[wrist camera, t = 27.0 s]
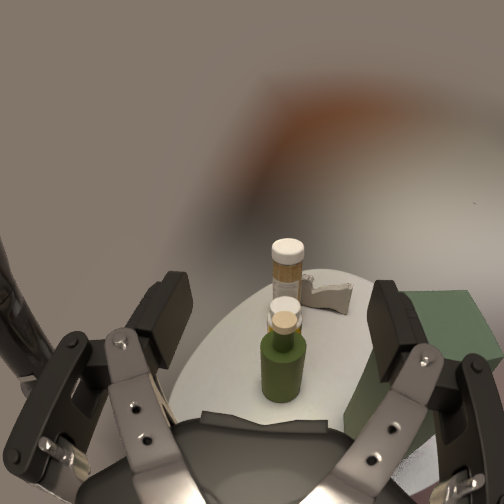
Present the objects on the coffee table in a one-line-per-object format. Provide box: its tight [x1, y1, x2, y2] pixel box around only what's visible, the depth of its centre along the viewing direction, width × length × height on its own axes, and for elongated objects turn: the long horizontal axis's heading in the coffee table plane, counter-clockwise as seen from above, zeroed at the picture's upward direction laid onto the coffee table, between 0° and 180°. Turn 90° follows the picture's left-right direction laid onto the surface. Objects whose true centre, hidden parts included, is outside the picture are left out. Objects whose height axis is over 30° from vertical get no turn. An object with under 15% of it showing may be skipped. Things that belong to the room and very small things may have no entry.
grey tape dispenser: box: [300, 274, 353, 315], centre depth 46 cm, size 6×1×10 cm
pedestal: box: [344, 290, 504, 459], centre depth 20 cm, size 8×8×20 cm
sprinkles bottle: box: [272, 238, 304, 303], centre depth 42 cm, size 5×5×14 cm
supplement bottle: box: [267, 296, 302, 335], centre depth 38 cm, size 5×5×8 cm
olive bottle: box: [260, 311, 306, 403], centre depth 30 cm, size 5×5×13 cm
